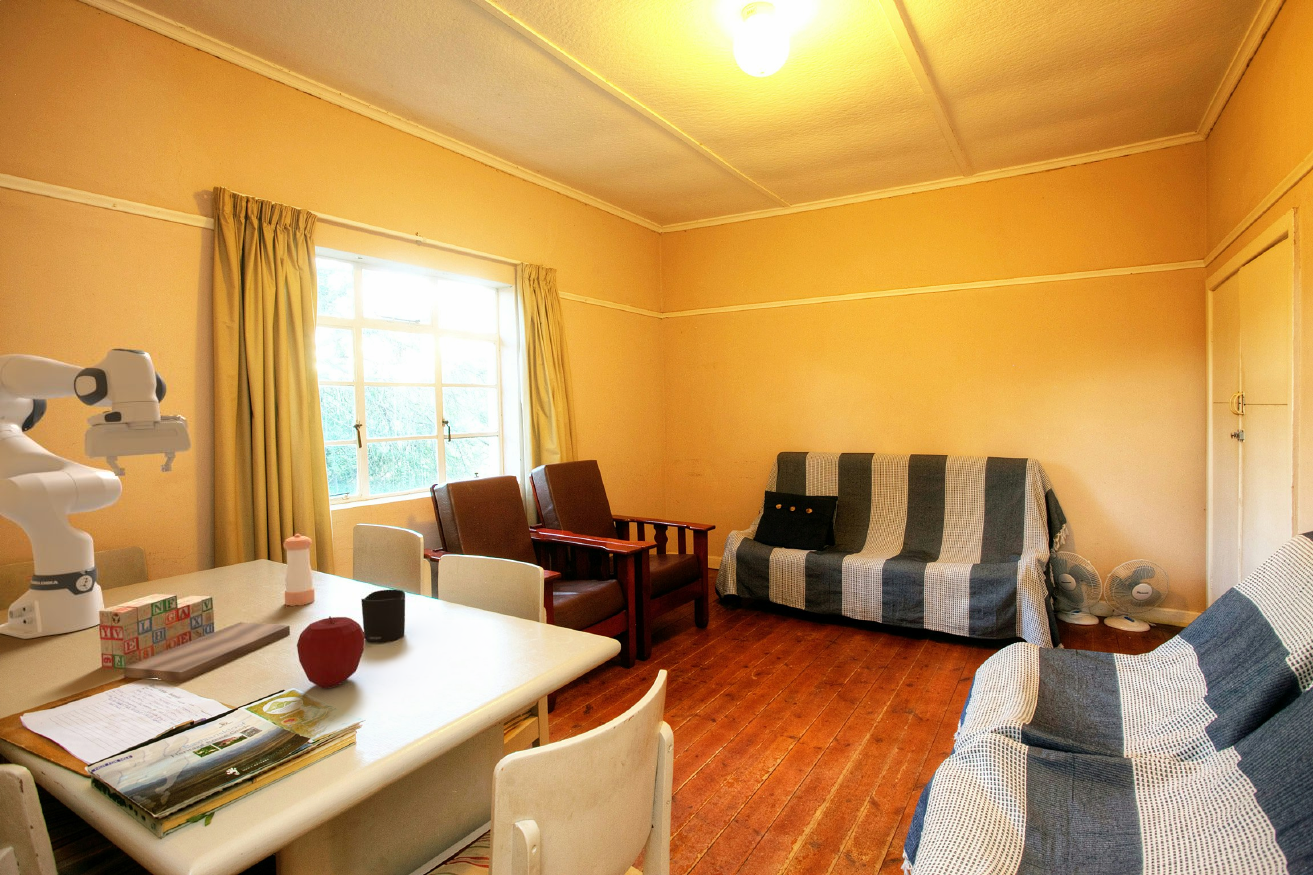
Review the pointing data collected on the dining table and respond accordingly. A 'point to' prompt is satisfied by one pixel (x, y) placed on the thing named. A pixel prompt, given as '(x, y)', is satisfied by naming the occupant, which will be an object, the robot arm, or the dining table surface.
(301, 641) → the apple
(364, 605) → the pen holder
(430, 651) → the dining table surface
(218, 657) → the walnut board
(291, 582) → the pepper shaker
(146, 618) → the stack of blocks
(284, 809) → the dining table surface
